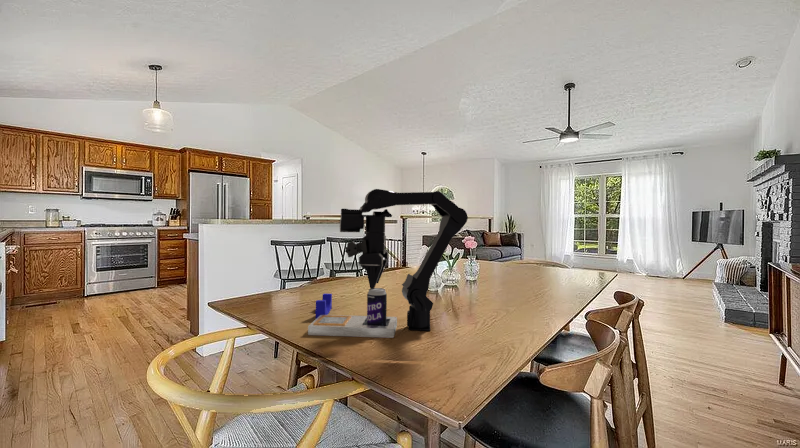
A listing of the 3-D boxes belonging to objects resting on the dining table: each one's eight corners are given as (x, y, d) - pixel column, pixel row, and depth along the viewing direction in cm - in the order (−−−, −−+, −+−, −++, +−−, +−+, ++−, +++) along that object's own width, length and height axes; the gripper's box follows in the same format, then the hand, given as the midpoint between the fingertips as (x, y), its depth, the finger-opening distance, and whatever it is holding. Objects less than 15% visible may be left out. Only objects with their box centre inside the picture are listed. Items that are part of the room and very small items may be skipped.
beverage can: (364, 328, 103) (364, 288, 103) (382, 326, 105) (382, 287, 105) (370, 334, 98) (370, 292, 98) (389, 332, 100) (389, 290, 100)
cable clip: (319, 310, 125) (319, 293, 125) (331, 310, 125) (331, 293, 125) (311, 319, 113) (311, 301, 113) (324, 319, 113) (325, 301, 113)
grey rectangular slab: (396, 324, 107) (397, 315, 107) (393, 337, 95) (393, 327, 95) (320, 322, 109) (320, 313, 109) (308, 334, 97) (308, 324, 97)
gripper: (354, 231, 111) (353, 279, 111) (340, 233, 93) (339, 291, 93) (388, 231, 111) (388, 280, 111) (381, 233, 92) (381, 292, 92)
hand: (374, 285), depth 101 cm, fingers open, 8 cm apart
